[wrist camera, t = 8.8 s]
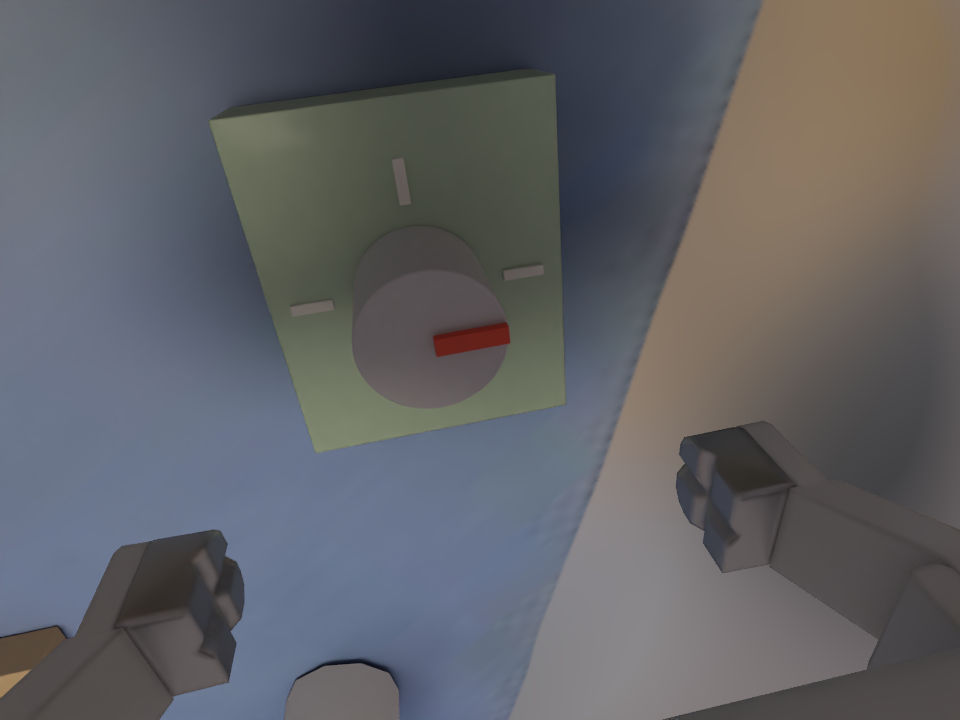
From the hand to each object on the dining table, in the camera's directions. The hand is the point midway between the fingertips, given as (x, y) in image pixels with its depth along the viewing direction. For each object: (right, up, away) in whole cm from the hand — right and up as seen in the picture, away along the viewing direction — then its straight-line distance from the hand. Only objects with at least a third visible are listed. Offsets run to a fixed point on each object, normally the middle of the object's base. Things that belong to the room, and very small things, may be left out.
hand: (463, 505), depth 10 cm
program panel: (-2, +6, +12) cm, 14 cm away
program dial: (-2, +5, +9) cm, 11 cm away
